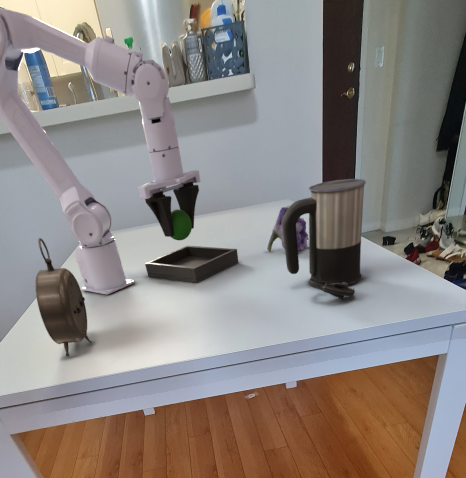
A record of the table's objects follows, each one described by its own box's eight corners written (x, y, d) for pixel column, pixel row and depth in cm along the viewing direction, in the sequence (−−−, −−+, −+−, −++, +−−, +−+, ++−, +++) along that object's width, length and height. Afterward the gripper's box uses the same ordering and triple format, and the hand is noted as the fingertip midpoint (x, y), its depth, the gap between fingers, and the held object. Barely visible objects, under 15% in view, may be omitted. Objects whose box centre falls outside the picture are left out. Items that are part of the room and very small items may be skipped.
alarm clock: (70, 335, 81) (31, 233, 70) (99, 330, 81) (65, 227, 70) (57, 361, 73) (10, 250, 62) (89, 356, 73) (48, 244, 62)
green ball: (163, 243, 94) (156, 213, 91) (181, 235, 97) (176, 206, 93) (180, 244, 91) (174, 213, 88) (199, 236, 94) (194, 206, 90)
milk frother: (342, 268, 88) (344, 176, 78) (397, 287, 77) (407, 181, 67) (278, 288, 85) (271, 194, 75) (325, 310, 73) (325, 203, 63)
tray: (148, 276, 102) (144, 263, 101) (189, 258, 109) (187, 245, 107) (196, 283, 94) (194, 268, 92) (238, 262, 101) (237, 248, 99)
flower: (253, 224, 97) (294, 193, 94) (259, 233, 105) (297, 205, 101) (274, 264, 99) (315, 235, 95) (279, 270, 106) (317, 243, 103)
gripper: (148, 155, 78) (166, 243, 87) (205, 141, 85) (217, 223, 94) (123, 158, 82) (143, 241, 91) (180, 143, 89) (193, 222, 98)
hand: (179, 232), depth 93 cm, fingers closed on green ball, 5 cm apart
